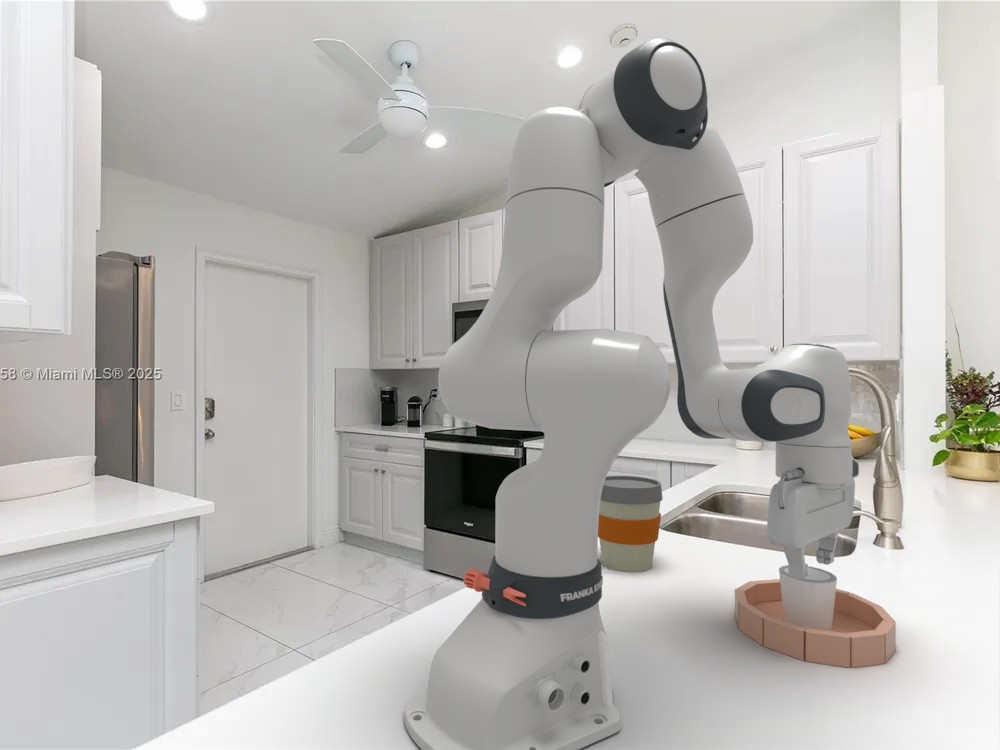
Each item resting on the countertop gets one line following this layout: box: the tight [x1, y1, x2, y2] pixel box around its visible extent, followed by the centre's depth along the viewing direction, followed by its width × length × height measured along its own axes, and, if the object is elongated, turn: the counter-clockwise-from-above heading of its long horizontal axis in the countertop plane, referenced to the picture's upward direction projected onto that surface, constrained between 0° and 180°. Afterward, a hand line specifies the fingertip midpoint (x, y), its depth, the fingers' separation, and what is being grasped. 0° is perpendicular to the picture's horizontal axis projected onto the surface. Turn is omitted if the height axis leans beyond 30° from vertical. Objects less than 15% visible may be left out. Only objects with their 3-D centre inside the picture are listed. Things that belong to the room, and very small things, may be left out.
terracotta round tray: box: [734, 578, 897, 669], centre depth 73 cm, size 18×18×4 cm
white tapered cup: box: [778, 564, 838, 631], centre depth 73 cm, size 7×7×7 cm
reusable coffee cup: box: [598, 475, 663, 573], centre depth 100 cm, size 13×13×15 cm
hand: (812, 569), depth 72 cm, fingers open, 8 cm apart
